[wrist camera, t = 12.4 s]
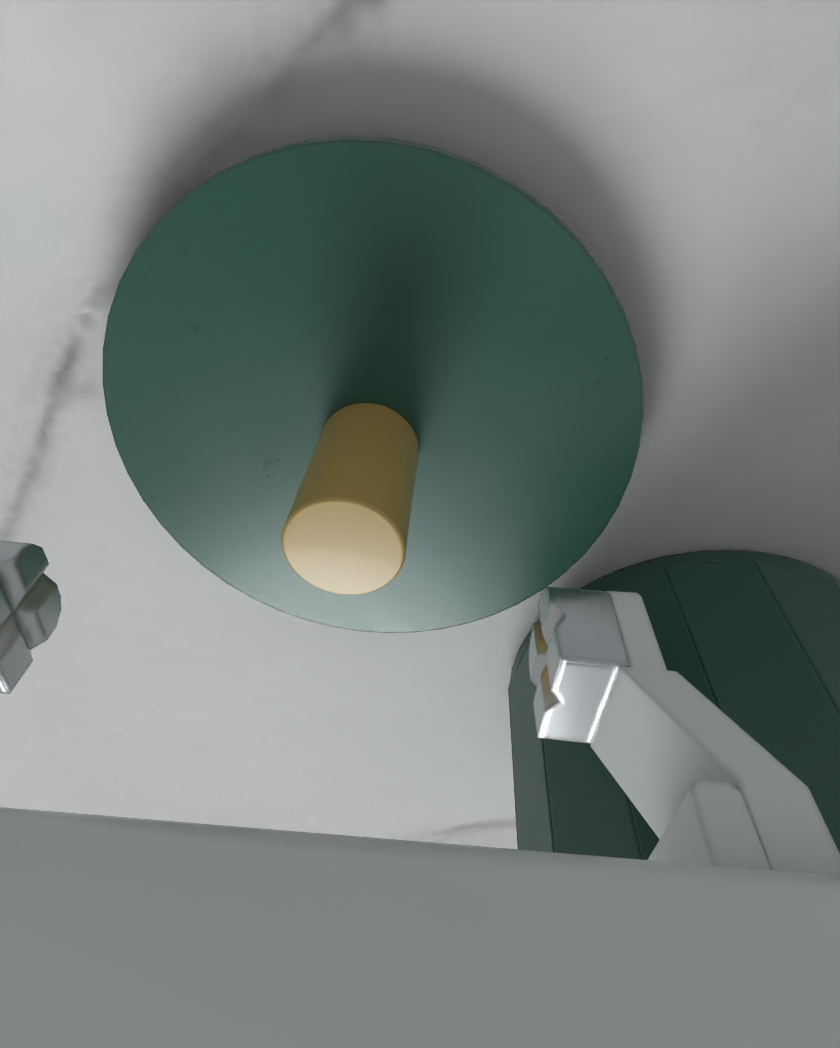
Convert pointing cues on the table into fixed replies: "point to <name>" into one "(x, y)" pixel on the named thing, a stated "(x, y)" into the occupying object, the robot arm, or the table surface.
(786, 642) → the tin
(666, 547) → the table surface
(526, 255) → the tin lid
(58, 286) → the table surface
